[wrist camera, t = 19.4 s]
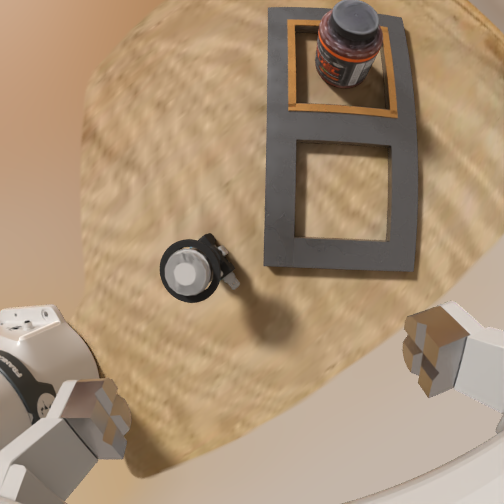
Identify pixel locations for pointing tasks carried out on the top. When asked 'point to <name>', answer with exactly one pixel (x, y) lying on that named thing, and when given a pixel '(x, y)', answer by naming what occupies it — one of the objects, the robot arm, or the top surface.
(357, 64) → the supplement bottle
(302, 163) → the top surface
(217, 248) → the push button
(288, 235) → the grey rectangular frame
